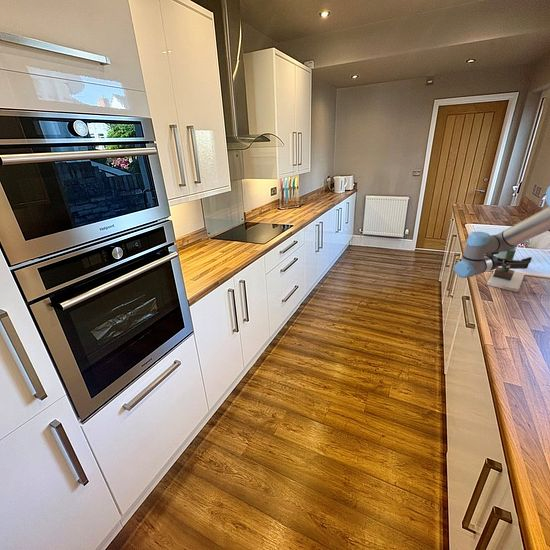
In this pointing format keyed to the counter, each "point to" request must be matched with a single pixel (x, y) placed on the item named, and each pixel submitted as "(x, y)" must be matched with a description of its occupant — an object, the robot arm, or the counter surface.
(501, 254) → the cup
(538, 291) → the counter surface
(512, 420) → the counter surface
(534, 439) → the counter surface
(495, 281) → the tile
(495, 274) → the brush
